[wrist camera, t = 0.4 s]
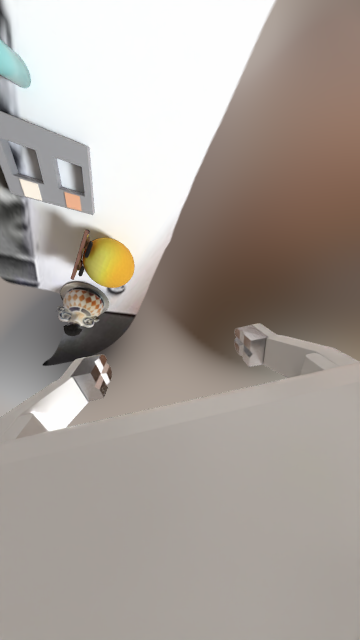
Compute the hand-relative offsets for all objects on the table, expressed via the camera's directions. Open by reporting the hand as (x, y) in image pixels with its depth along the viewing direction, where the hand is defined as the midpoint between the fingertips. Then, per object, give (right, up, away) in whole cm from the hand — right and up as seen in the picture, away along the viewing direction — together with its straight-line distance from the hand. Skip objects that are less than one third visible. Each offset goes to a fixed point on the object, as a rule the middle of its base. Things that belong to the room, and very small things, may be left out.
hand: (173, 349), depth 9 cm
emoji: (-24, +26, +43) cm, 56 cm away
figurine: (-40, +11, +55) cm, 69 cm away
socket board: (-31, +38, +26) cm, 56 cm away
